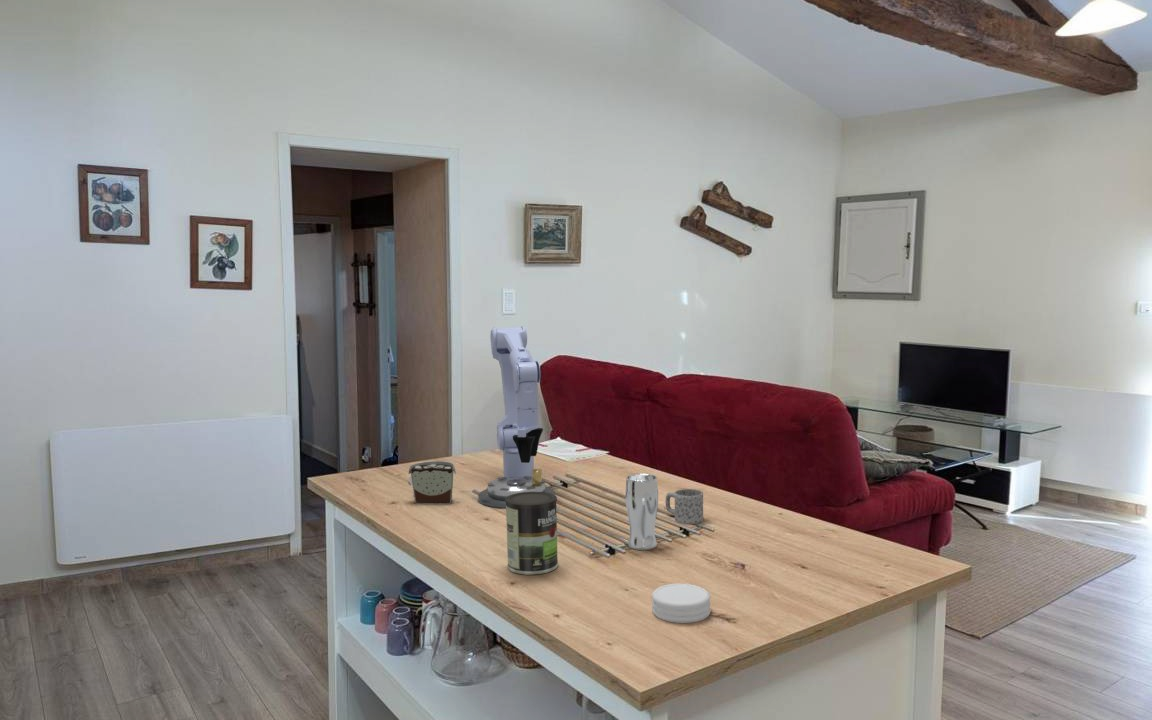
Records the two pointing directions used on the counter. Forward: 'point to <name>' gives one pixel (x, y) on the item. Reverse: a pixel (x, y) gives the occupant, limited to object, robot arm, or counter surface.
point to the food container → (432, 482)
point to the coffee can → (531, 532)
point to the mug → (686, 506)
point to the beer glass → (642, 510)
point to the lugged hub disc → (516, 485)
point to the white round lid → (681, 603)
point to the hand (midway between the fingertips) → (528, 459)
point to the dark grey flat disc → (497, 503)
